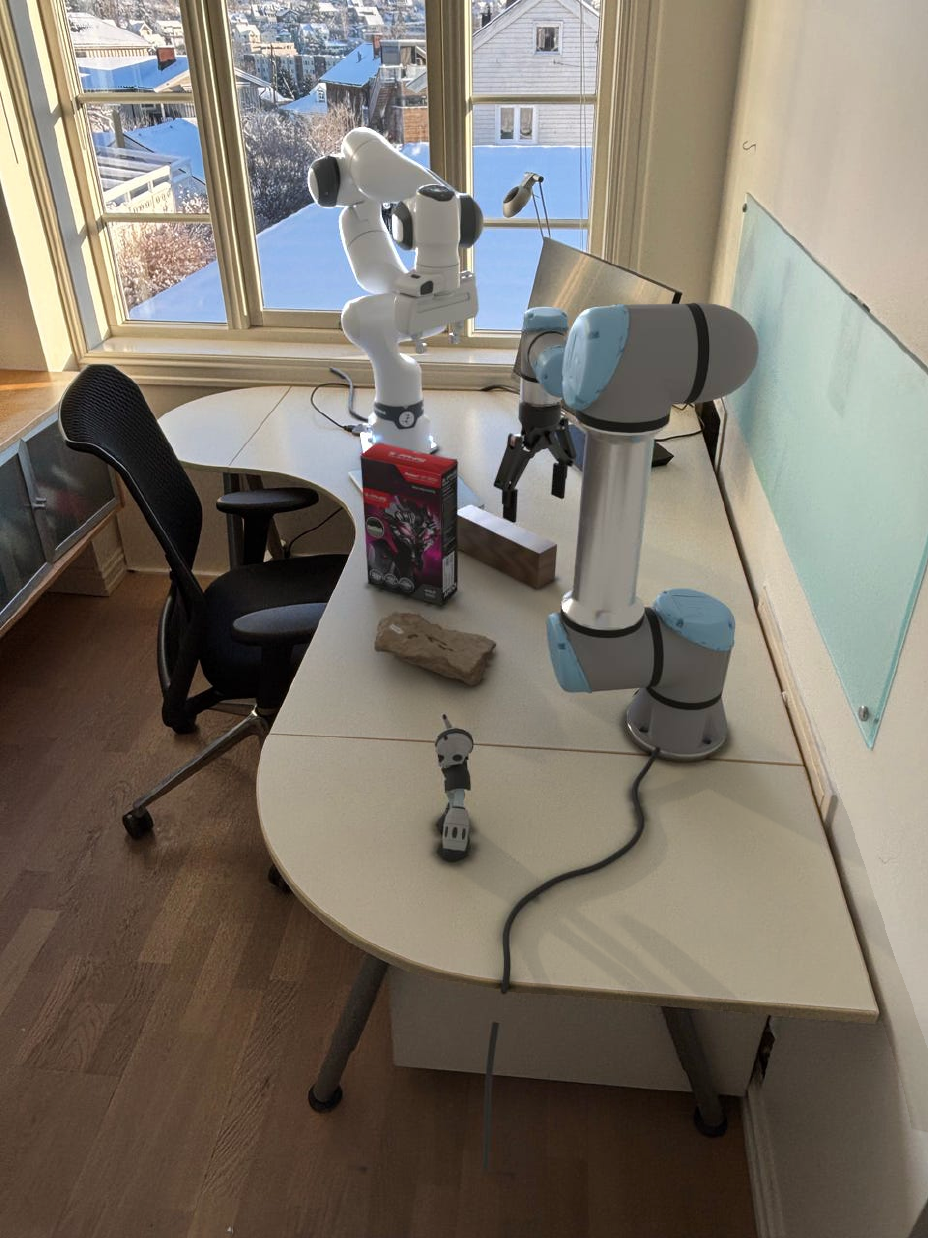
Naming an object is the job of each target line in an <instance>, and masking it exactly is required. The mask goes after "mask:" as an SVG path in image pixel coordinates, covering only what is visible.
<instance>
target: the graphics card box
mask: <svg viewBox="0 0 928 1238" xmlns="http://www.w3.org/2000/svg"><path fill="white" fill-rule="evenodd" d="M359 458H360V470H361V486H362V487H361V488H362V504H363V518H364V534H365V535H364V537H365V551H366V572H367V584H369V585H371V586H374V587H378V588H382V589H384V590H387V591H390V592H391V591H392V592H395V593H397V594H402V595H406V596H408V597H412V598H415V599H418V600H422V601H426V602H429V603H433V604H435V605H439V606H443V605H444V604H446V602H448V601H449V600H450V599H451V598H452V597H453V596H454V595H455V594H456V593H457V592H458V589H459V584H458V583H459V576H458V575H459V574H458V573H459V555H458V554H459V553H458V552H459V551H458V550H459V549H458V540H457V537H458V535H457V532H458V531H457V510H458V506H459V505H458V503H459V502H458V494H459V493H458V490H459V489H458V484H459V483H458V482H459V481H458V480H459V479H458V477H459V475H458V473H459V468H458V467H459V461H458V458H448V457H444V456H440V455H435V454H431V453H430V454H427V453H422V452H418V451H414V450H410V449H405V448H401V447H397V446H392V445H388V444H384V443H379V442H378V443H376V444H374V445H373V446H371V447H370V448H368V449H367V450H366V451H365V452H364V453H363V452H362V454H361V455H360V457H359Z"/></svg>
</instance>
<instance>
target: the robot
mask: <svg viewBox="0 0 928 1238" xmlns="http://www.w3.org/2000/svg"><path fill="white" fill-rule="evenodd" d="M442 719H443V722H444V725H445V728H446V729H445V730H443V731H441V732H440V733H439V734H438V735H436V738H435V741H434V742H433V743H434V751H435V753H436V755H437V766H438V767H440V768H441V769H440V770H441V773H442V775H443V777H444V779H445V780H444V781H443V786H444V794H446V797H447V799H448V801H447V804H446V806H445V808H444V811H443V813H442V815H441V816H440V818H438V820H437V821H436V823H435V826H436V828H437V831H438V833H439V834H441V835H442V837H441V839H440V843H439V845H438V847H437V850H436V854H437V855H438V856H440V857H441V859H442V860H444V861H447V862H457V861H459V860H462V859H464V858H466V857H468V856H469V854H470V850H471V839H470V834H469V833H470V816H469V811H468V809H466V807H465V804H464V803H465V802H464V801H465V798H466V791H468V792H469V791H470V792H471V790H472V781H471V774H470V770H469V769H468V761H469V760H470V757H469V754H472V752H473V750H474V745H475V744H474V738H473V736H472V734H471V733H470V732H469V731H468V730H466V729H465V728H462V727H458V726H453V725H452V724H451V722H450V720H449V718H448V716H447V714H445V713H443V715H442ZM465 790H466V791H465Z"/></svg>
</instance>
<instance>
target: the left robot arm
mask: <svg viewBox="0 0 928 1238" xmlns="http://www.w3.org/2000/svg"><path fill="white" fill-rule="evenodd" d="M340 150H341V153H337V154H333V155H332V154H327V155H324V156H322V157H320V158H319V157H318V158H317V159H315V160H313V162H312V163H311V164H310V165H309V167H308V172H307V173H308V174H307V185H308V189H309V192H310V195H311V197H312V199H313V201H314V202H315V203H316V205H317V206H318V207H320V208H324V209H335V208H336V207H337V208H338V207H339V208H344V209H343V210H342V211H341V213H340V215H339V220H338V223H339V231H340V236H341V240H342V244H343V248H344V251H345V253H346V256H347V259H348V262H349V264H350V267H351V270H352V272H353V274H354V277H355V280H356V282H357V284H358V285H359V286H360V287H361V288H362V289H363V290H364V291H366V292H368V293H371V294H368V295H364V296H361V297H358V298H355V299H352V300H349V301H348V302H346V304H345V306H344V308H343V310H342V313H341V319H340V321H341V327H342V330H343V333H344V335H345V336H346V338H347V340H348V341H350V343H352V344H353V345H355V346H356V347H358V348H359V349H360V350H361V351H362V352H364V353H365V355H366V357H367V358H368V361H370V363H371V364H370V365H371V367H372V370H373V371H372V372H373V377H374V387H375V398H374V401H373V412H372V413H371V414H370V415H369V416H368V417H364V416H362V415H360V414H358V413H357V412H356V411H355V410H354V409H353V397H354V385H353V382H352V380H351V378H350V377H349V376H348V375H347V374H346V373H344V372H342V371H340V370H339V369H336V368H335V367H332V366H329V367H328V369H329V370H330V371H332V372H334V373H336V374H338V375H340V376H342V377H343V378H344V379H345V380H346V381H347V382H348V385H349V397H348V410H349V412H350V414H351V415H352V416H354V417H355V418H357V419H358V420H360V421H363V422H366V423H363V424H362V432H360V434H359V440H360V444H361V449H362V454H363V453H364V452H365V451H366V450H367V449H368V448H370V447H371V446H373V445H374V444H376V443H378V442H379V443H384V444H388V445H392V446H397V447H401V448H405V449H410V450H414V451H418V452H422V453H427V454H431V453H432V452H434V451H436V450H437V449H438V446H437V443H435V442H434V441H433V440H434V438H433V436H432V434H431V433H432V432H431V423H430V422H431V421H430V418H429V417H428V416H427V415H426V414H424V413H425V401H424V400H425V399H424V397H423V387H422V386H423V385H422V369H421V366H420V364H419V362H417V360H415V359H414V358H412V357H411V356H409V355H406V354H404V353H401V352H400V350H399V343H402V342H409V341H412V342H413V343H414V344H415V345H414V346H415V347H414V348H415V354H418V355H422V354H425V353H427V348H428V346H427V343H424V342H423V341H422V340H423V339H428V338H430V337H433V336H436V335H438V334H440V333H443V332H444V331H445V330H446V328H447V327H448V326H449V325H453V328H452V331H451V333H449V334H448V336H449V339H448V342H449V343H450V344H453V345H457V344H459V343H461V334H462V332H463V330H464V328H465V325H466V324H465V322H466V321H467V320H470V319H475V318H477V316H478V313H479V311H480V310H479V295H478V288H477V282H476V281H477V278H476V275H475V274H474V273H473V272H472V271H471V270H464V271H461V257H460V254H459V249H470V248H472V247H473V245H474V244H476V242H477V241H478V240H479V238H480V237H481V235H482V233H483V231H484V223H485V222H484V216H483V215H484V214H483V211H482V208H481V206H480V205H479V203H478V201H476V199H475V198H474V197H473V196H472V195H470V194H469V193H461V192H460V191H457V189H456V188H454V187H453V186H451V185H450V184H449V183H448V182H447V181H445V180H444V179H443V178H442V177H440V176H439V175H438V174H436V173H435V172H433V171H432V170H431V169H429V168H427V167H425V166H424V165H422V164H419V163H418V162H415V161H414V160H412V159H410V158H409V157H407V156H405V155H404V154H403V153H401V152H399V151H398V150H397V149H395V148H394V146H392V144H390V142H389V141H388V140H387V139H386V138H385V137H384V136H382V135H381V134H379V133H378V132H376V131H375V130H373V129H372V128H368V127H356V128H354V129H352V130H350V131H349V132H348V133H347V134H346V135H345V137H344V138H343V140H342V144H341V149H340ZM393 204H396V205H395V206H394V208H393V210H392V211H391V213H390V232H389V230H388V229H387V226H386V224H385V221H384V219H383V216H382V206H383V208H385V209H386V210H389V209H391V207H392V206H393ZM390 233H391V235H390ZM393 242H394V243H395V244H396V245H397V246H398V247H399V248H400V249H402V250H403V251H406V252H407V251H408V252H415V258H414V266H413V267H411V268H410V270H408V269H407V268H406V267H405V265H404V264H403V262H402V260H401V258H400V256H399V254H398V252H397V249H396V247H395V245H394V243H393Z"/></svg>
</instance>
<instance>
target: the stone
mask: <svg viewBox="0 0 928 1238" xmlns="http://www.w3.org/2000/svg"><path fill="white" fill-rule="evenodd" d="M496 647H497V642H496V641H494V640H493V639H491V638H489V637H487V636H486V635H482V634H477V633H470V632H465V631H464V632H462V631H459V630H457V629H447V628H442V627H441V626H440V624H438V623H432V622H431V621H430V620H429V619H427V618H425V617H423V616H422V614H419V613H412V612H398V611H395V612H392V613H389V614H387V615H386V616H384V617H383V618H380V620H379V621H378V623H377V627H376V636H375V641H374V647H373V649H374V651H375V652H377V653H380V652H381V653H382V652H383V653H389V654H391V655H392V656H393V657H394V659H395V660H397V661H402V662H407V664H410V665H414V666H420V667H421V668H423V669H427V670H430V671H432V672H433V673H437V674H439V675H441V676H443V677H445V678H449V679H458V680H460V681H462V682H463V683H465V684H467V685H470V686H476V685H478V684H479V683H480V682H481V680H482V678H483V676H484V673H485V667H486V665H487V663H488V661H489V659H490V656H491V655H492V654H493V652H494V649H495V648H496Z"/></svg>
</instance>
